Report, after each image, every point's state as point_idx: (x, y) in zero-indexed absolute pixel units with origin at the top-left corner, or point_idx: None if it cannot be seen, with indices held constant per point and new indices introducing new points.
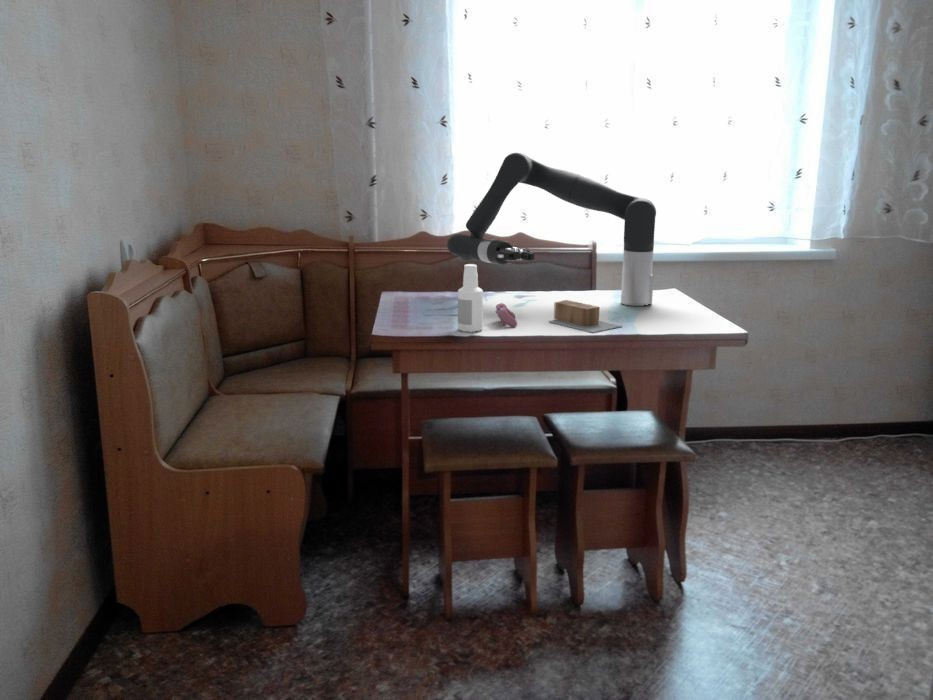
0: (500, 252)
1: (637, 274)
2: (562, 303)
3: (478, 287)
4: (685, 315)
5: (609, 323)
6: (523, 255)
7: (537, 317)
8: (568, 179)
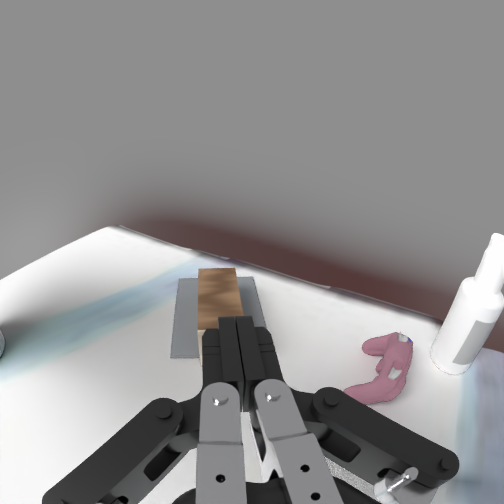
0: (441, 447)
1: None
2: (240, 313)
3: (472, 280)
4: (42, 276)
5: (179, 293)
6: (277, 365)
7: None
8: None
